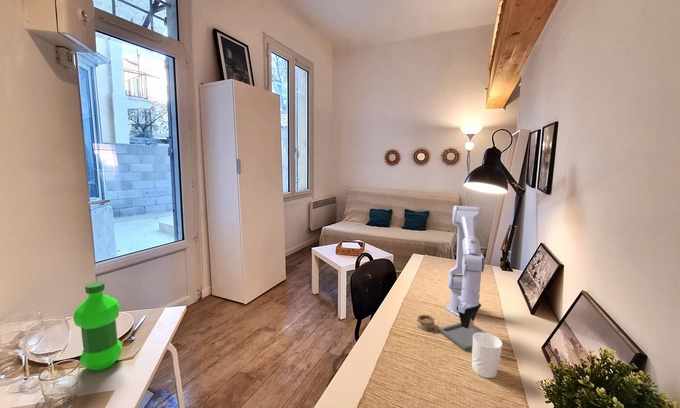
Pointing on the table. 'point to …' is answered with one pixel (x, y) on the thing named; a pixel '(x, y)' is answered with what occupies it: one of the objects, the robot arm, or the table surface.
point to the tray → (460, 335)
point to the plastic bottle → (98, 328)
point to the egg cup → (425, 322)
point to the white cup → (486, 354)
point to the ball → (470, 324)
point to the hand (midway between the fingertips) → (467, 324)
